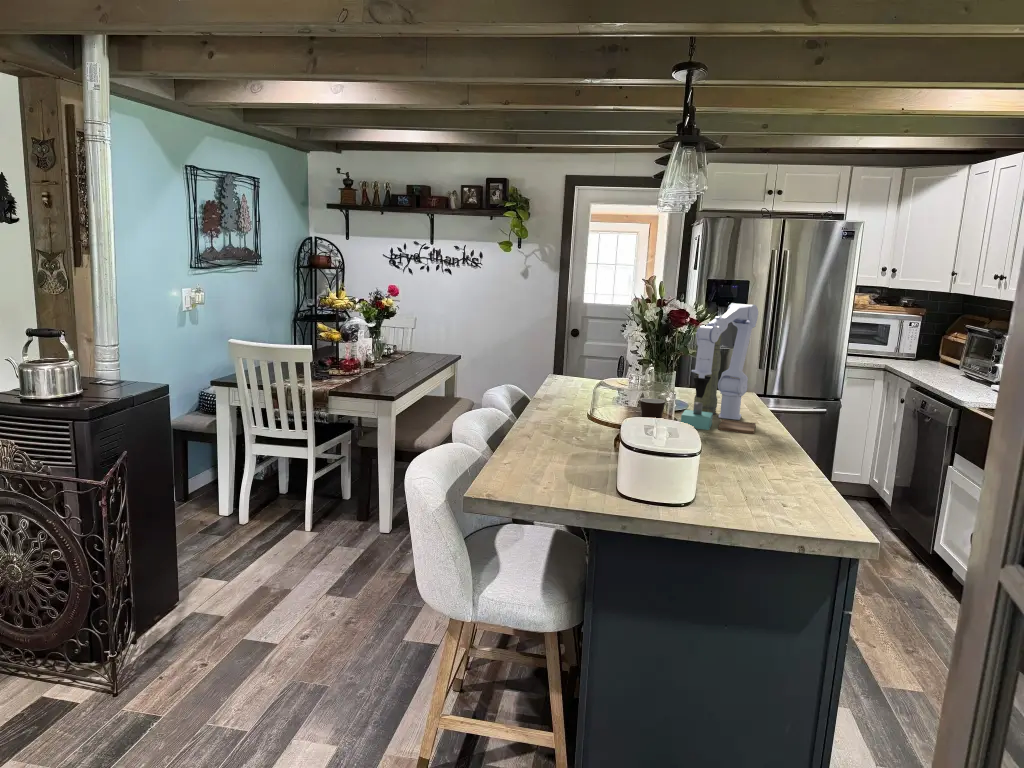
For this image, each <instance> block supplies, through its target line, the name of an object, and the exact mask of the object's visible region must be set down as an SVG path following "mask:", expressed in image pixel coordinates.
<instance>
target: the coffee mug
mask: <svg viewBox="0 0 1024 768" xmlns="http://www.w3.org/2000/svg"><path fill="white" fill-rule="evenodd" d="M639 401H640V418H641V417H656V418H663V414H664V408H665V403H666V401H665V400H664V399H662V398H661V399H660V398H656V397H655V398H654V397H653V398H652V397H645V398H644V397H643V398H640V400H639Z"/></svg>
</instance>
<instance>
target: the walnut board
mask: <svg viewBox="0 0 1024 768" xmlns="http://www.w3.org/2000/svg"><path fill="white" fill-rule="evenodd" d="M756 425H757V424H756V422H749V421H740V420H733V419H724V418H721V420H720V423H719V425H718V431H722V432H723V431H725V432H726V431H727V432H732V433H733V432H735V433H742V434H749V435H754V434H755V430H756Z"/></svg>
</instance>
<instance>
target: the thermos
mask: <svg viewBox="0 0 1024 768" xmlns="http://www.w3.org/2000/svg"><path fill="white" fill-rule="evenodd" d="M722 333H723V332H722ZM722 333H721V335H720V336H719V339H718V341H717V342H715V346H714V354H713V362H712V370H711V372H712V374H711V375H706V376H711V378H710V380H709V382H708V384H707V386H706V389H705V393H704V395H703V397H702V398H699V397H696V394H695V396H694V400H693V403H694V402H700V403H703V404H702V412H711V413H713V415H715V414H716V413H717V407H718V396H717V393H718V381H719V372H720V370H721V364H722V363H721V360H722V355H721V344H722ZM697 376H699V374H697Z"/></svg>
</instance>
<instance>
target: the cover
mask: <svg viewBox="0 0 1024 768" xmlns="http://www.w3.org/2000/svg"><path fill="white" fill-rule="evenodd" d="M702 404H703V403H700V402H694V401H693V409H691V410H690V409H685V410H684V411H683V413H681V414H680V415H681V416H680V423H681V422H684V423H688V424H690V425H692V426H694V427H695V428H694V429H695V430H705V431H709V430H710V429H711V427H712V425H713V418H714V417H713V416H714V414H713V413H711V412H702Z"/></svg>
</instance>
